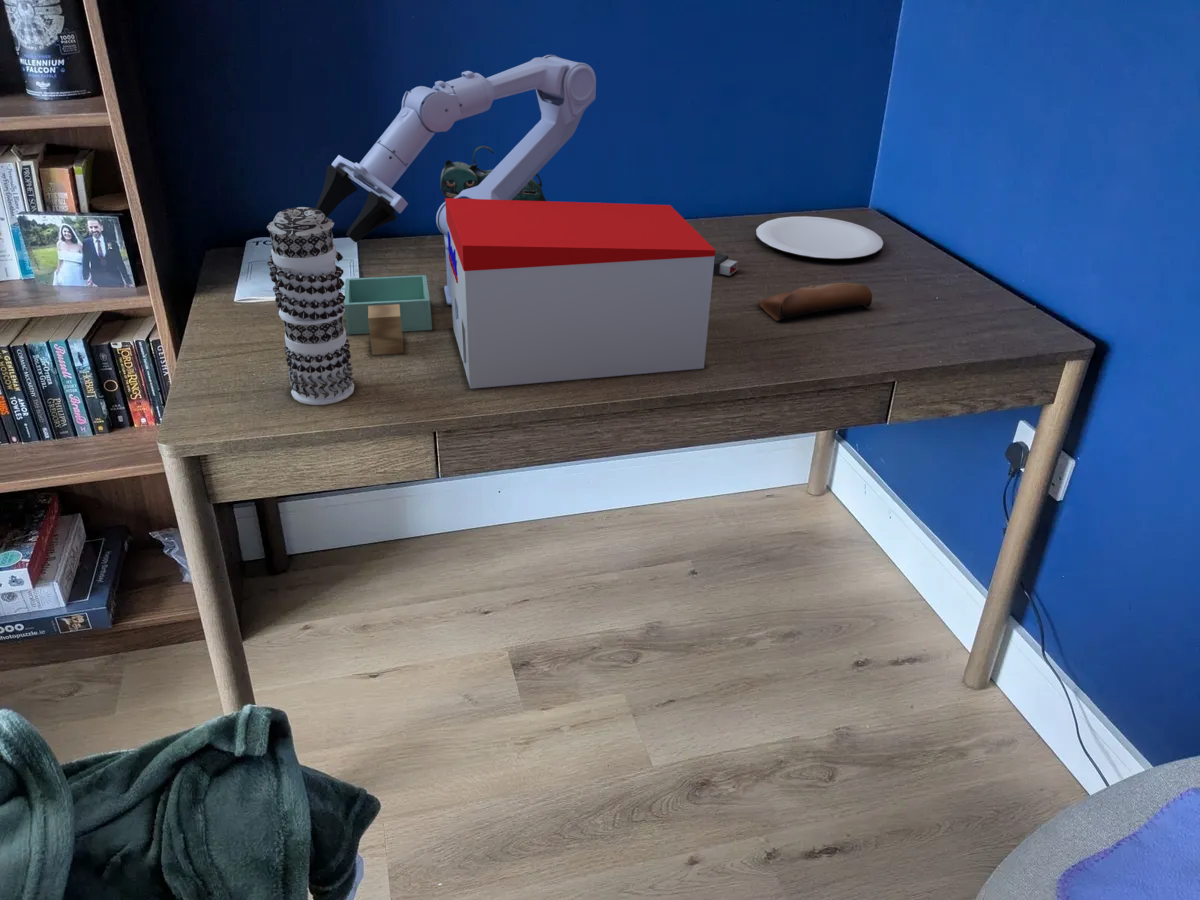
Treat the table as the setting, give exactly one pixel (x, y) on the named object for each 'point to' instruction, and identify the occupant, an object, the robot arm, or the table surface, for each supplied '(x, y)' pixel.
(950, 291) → the table surface
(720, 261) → the usb drive
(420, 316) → the desk bin
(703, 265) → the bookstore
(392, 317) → the beech block
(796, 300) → the sunglasses case
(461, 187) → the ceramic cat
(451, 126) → the robot arm
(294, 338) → the decorative candle
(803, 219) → the plate
